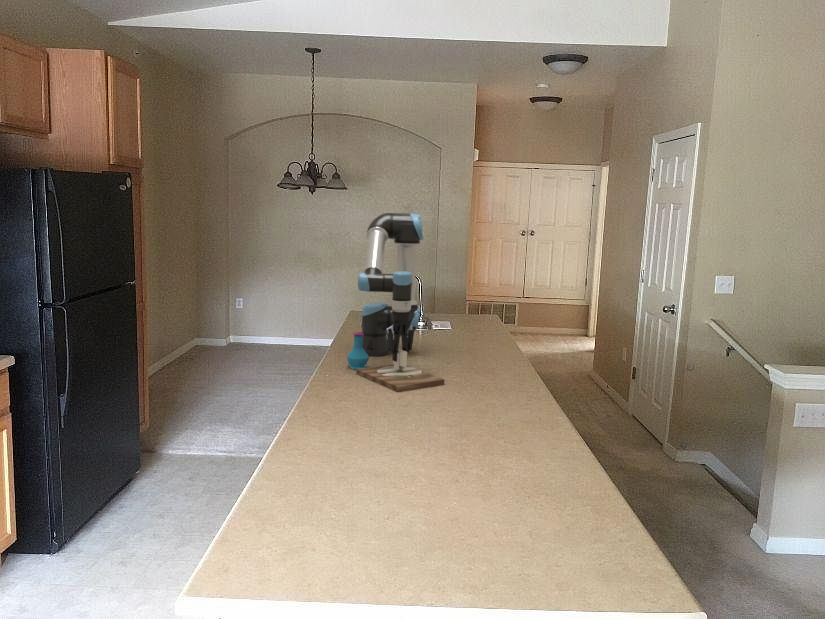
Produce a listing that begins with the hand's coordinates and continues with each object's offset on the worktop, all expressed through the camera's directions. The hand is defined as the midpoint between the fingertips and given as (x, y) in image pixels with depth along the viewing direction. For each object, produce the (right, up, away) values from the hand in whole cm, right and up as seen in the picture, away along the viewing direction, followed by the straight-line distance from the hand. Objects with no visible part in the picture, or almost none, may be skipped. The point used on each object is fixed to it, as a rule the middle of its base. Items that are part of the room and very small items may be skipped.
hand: (399, 368), depth 265 cm
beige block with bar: (-3, -2, -2) cm, 4 cm away
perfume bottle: (-18, -1, +13) cm, 22 cm away
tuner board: (0, -4, -3) cm, 5 cm away
